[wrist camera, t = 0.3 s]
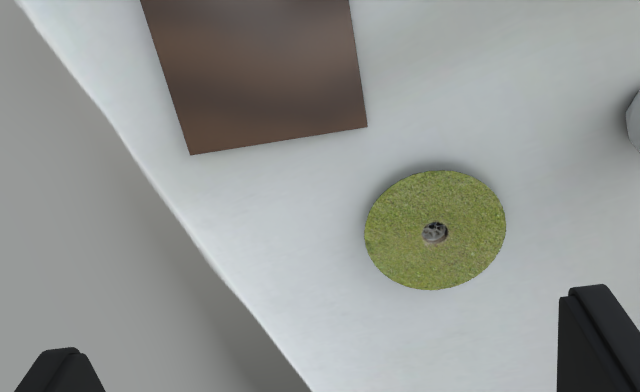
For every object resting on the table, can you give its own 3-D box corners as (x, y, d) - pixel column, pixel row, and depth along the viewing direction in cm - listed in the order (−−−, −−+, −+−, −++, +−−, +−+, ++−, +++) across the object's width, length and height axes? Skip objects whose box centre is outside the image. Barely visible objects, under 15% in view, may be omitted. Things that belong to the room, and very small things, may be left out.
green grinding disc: (360, 274, 47) (361, 288, 45) (367, 158, 42) (368, 168, 40) (488, 279, 47) (493, 292, 45) (511, 162, 41) (518, 173, 40)
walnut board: (99, -140, 33) (94, -141, 32) (319, -192, 31) (318, -194, 31) (192, 151, 42) (189, 155, 41) (367, 123, 40) (367, 127, 40)
